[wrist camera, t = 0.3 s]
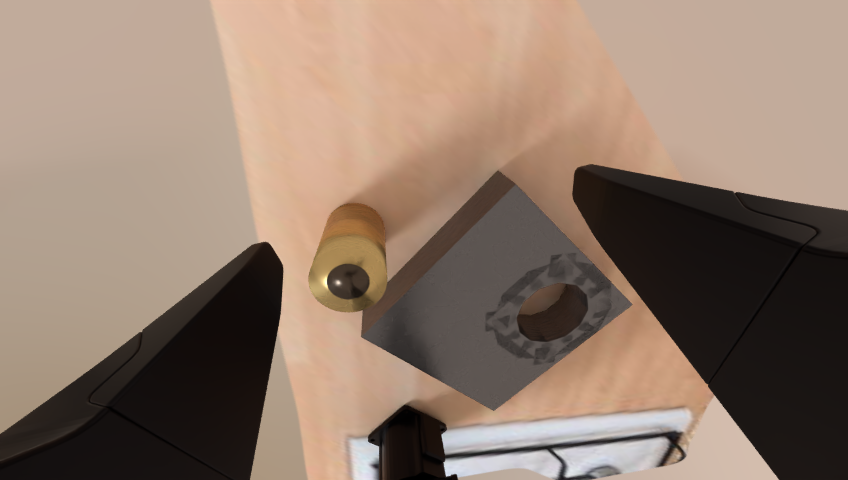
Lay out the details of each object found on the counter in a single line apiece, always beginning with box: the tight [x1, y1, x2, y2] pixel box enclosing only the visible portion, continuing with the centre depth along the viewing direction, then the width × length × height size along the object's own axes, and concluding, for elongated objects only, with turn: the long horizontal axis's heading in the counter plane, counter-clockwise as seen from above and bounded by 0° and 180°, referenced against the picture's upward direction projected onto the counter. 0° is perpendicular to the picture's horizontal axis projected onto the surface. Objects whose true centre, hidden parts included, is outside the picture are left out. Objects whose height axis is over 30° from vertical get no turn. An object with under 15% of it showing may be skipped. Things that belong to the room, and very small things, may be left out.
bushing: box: [308, 203, 387, 312], centre depth 21 cm, size 4×4×7 cm
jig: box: [361, 171, 633, 411], centre depth 27 cm, size 16×16×4 cm
